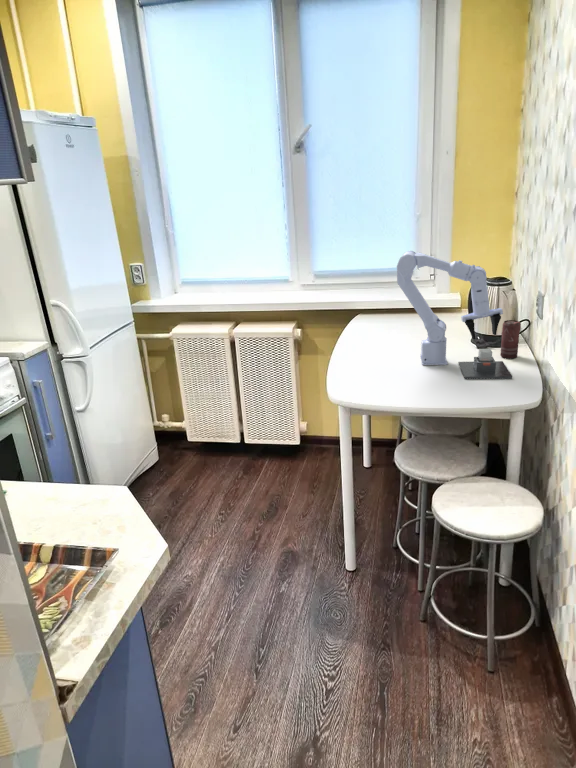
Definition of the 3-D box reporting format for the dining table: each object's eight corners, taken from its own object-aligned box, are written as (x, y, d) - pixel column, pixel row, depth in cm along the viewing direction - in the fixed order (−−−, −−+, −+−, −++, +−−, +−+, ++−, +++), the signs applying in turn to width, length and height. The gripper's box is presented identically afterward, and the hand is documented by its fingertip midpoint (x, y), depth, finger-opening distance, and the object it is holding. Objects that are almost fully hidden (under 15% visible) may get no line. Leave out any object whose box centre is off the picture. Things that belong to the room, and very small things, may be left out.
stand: (464, 379, 198) (465, 367, 197) (458, 364, 213) (458, 353, 212) (511, 379, 196) (513, 366, 194) (502, 363, 211) (503, 352, 209)
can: (519, 359, 214) (522, 323, 209) (501, 359, 215) (504, 323, 210) (516, 354, 219) (519, 319, 214) (499, 354, 221) (501, 319, 216)
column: (479, 372, 203) (480, 352, 200) (477, 368, 207) (478, 348, 204) (491, 372, 202) (492, 352, 199) (489, 368, 206) (490, 348, 203)
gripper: (463, 307, 201) (467, 343, 205) (504, 298, 199) (507, 335, 204) (458, 303, 207) (462, 338, 212) (497, 295, 206) (500, 330, 210)
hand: (484, 336), depth 208 cm, fingers open, 7 cm apart
